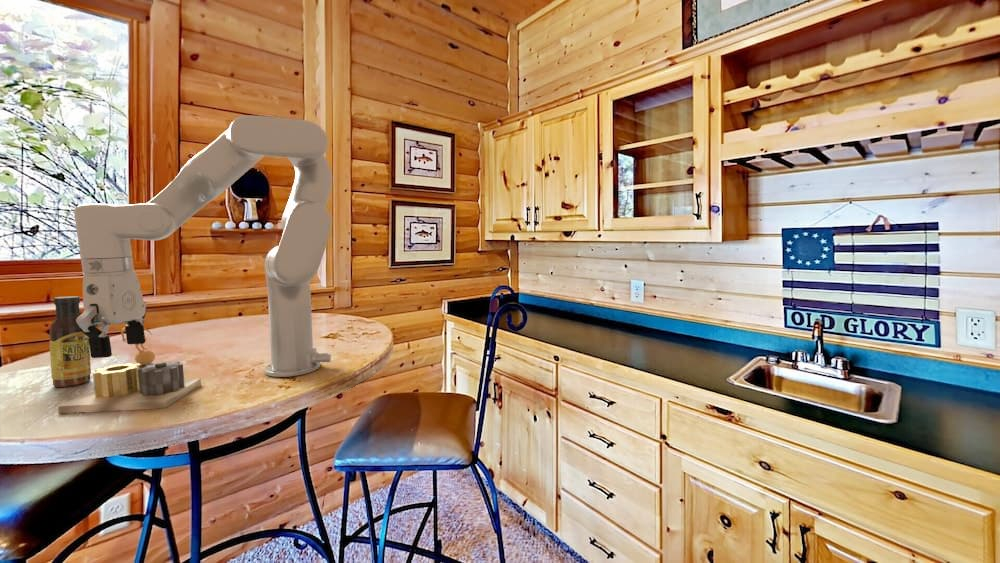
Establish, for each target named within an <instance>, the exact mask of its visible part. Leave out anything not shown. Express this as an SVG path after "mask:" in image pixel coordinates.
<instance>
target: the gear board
mask: <svg viewBox="0 0 1000 563" xmlns="http://www.w3.org/2000/svg"><path fill="white" fill-rule="evenodd" d="M184 374H185V373H184V363H180V361H171V362H167V361H161V362H157V363H153V364H148V365H144V367H141V369H138V378H139V389H140V391H138V392H133V393H130V394H128V395H126V396H122V397H121V396H117V397H111V398H107V399H103V397H98V398H96V397H95V391H94V389H93V390H91V391H88V392H86V393H84V394H82V395H80V396H78V397H75V398H73V399H72V400H71V399H70V400H69V401H67V402H64V403H62V404H61V405H57V411H58V414H59V415H61V414H60V413H68V414H80V413H79V412H85V413H96V412H97V413H100V412H101V411H102V412H116V411H117V412H118V410H121V411H132V410H133V411H134V410H139V411H140V410H148V409H149V410H152V409H153V410H156V409H167V408H168V407H169V406H171V405H172V404H174V403H175V402H178V400H181V399H182V398H183V397H185V396H186V395H188V394H189V393H191V392H193V391H194V390H196V389H197V388H199V387H200V386H202V380H201V378H185V377H184V376H185V375H184ZM72 412H73V413H72ZM74 412H76V413H74Z"/></svg>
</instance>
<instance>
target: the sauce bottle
mask: <svg viewBox="0 0 1000 563" xmlns="http://www.w3.org/2000/svg"><path fill="white" fill-rule="evenodd" d="M80 303H81V300H80V296H78V295H76V296H74V295H73V296H71V295H70V296H57V297H54V298H53V304H54V305H55V319H54V321H53V322H52V323H51V325H50V328H49V341H48V342H49V354H50V372H51V373H50V374H51V380H52V386H53V387H56V388H67V387H73V386H78V385H82V384H85V383H88V382H90V380H91V374H92V368H91V353H90V346H89V340H88V338H86V337H85V334H84V333H82V332H81V328H80V327H79V325H78V324H77V322H76V319H77V318H78V317H79V316H80V315H81V312H80Z"/></svg>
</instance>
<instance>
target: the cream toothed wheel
mask: <svg viewBox="0 0 1000 563" xmlns="http://www.w3.org/2000/svg"><path fill="white" fill-rule="evenodd" d="M141 368H142V365H141V364H138V363H133V362H126V363H122V364H111V365H108V366H106V367H102V368H100V367H99V368H97V369H95V371H93V372H92V380H93V390H94V391H95V397H96V398H98V397H103V399H107V398H111V397H117V396H121V397H122V396H126V395H128V394H130V393H133V392H138V391H140V389H139V378H138V369H141Z"/></svg>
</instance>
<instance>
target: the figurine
mask: <svg viewBox="0 0 1000 563" xmlns="http://www.w3.org/2000/svg"><path fill="white" fill-rule="evenodd" d="M124 325H125V326H129V325H127V324H126V323H125V324H124ZM125 326H124V327H123V328H122V329H121V330H120V334H121V337H122V342H123V343H127V338H126V337H125V333H124V332H126V331H125ZM143 327H144V331H146V332H147V333H149V334H150V335H151V336H152V335H153V333H152V332H151V331H150V330H149V329H148V328H147V327H145V326H144V325H143ZM145 342H147V338H146V337H145ZM144 344H145V343H143V344H134V346H135V349H136V350H137V351H138V352H137V353H136V354H135V355H134V356H135V357H134V360H135V362H136V364H141V366H147V365H151V364H152V363H153V362H154V361H155V358H156V355H155V353H154V352H153V351H152V350H150V349H148V348H146V347H144ZM139 345H140V347H141V348H140V347H139Z"/></svg>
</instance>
